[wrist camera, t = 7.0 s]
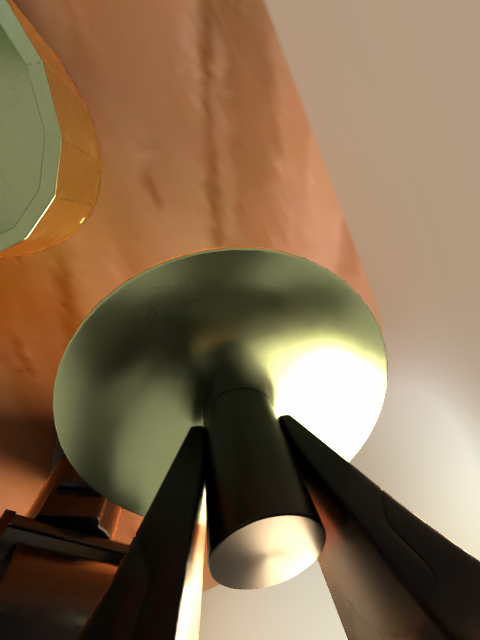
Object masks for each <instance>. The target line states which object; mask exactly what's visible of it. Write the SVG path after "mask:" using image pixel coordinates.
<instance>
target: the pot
mask: <svg viewBox="0 0 480 640" xmlns="http://www.w3.org/2000/svg"><path fill="white" fill-rule="evenodd" d="M100 179H101V156H100V149H99V143H98V138H97V135H96V131H95V127H94V124H93V121H92V119H91V116H90V113H89V111H88V108H87V106H86V104H85V102H84V100H83V98H82V96H81V94H80V92H79V90H78V89H77V87H76V85H75V84H74V82H73V81H72V79H71V77H70V76H69V74H68V73H67V71H66V70H65V68H64V66H63V65H62V63H61V61H60V59H59V58H58V56H57V55H56V54H55V53H54V51H53V50H52V49H51V48H50V46H49V45H48V44H47V43H46V42H45V40H44V39H43V38H42V37H41V35H40V34H39V33H38V32H37V30H36V29H35V28H34V27H33V26H32V24H31V23H30V22H29V21H28V19H27V18H26V17H25V16H24V14H23V13H22V12H21V11H20V10H19V8H18V7H17V6H16V5H15V3H14V2H13V1H12V0H0V259H3V258H10V257H16V256H22V255H29V254H35V253H39V252H41V251H43V250H45V249H48V248H51V247H53V246H56V245H58V244H60V243H61V242H63V241H65V240H66V239H68V238H69V237H71V236H72V235H73V234H74V233H75V232H77V231H78V230H79V228H80V227H81V226H82V225H83V224H84V223H85V221H86V220H87V218H88V216H89V215H90V213H91V211H92V209H93V207H94V204H95V202H96V199H97V196H98V191H99V187H100Z"/></svg>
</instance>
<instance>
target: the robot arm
mask: <svg viewBox="0 0 480 640" xmlns="http://www.w3.org/2000/svg"><path fill="white" fill-rule="evenodd" d="M278 421H279V423H280V425H281V428H282V430H283V432H284V435H285V437H286V439H287V442H288V444H289V446H290V449H291V451H292V453H293V456H294V458H295V460H296V463H297V465H298V467H299V470H300V472H301V474H302V477H303V479H304V481H305V484H306V486H307V488H308V491H309V493H310V495H311V498H312V500H313V502H314V505H315V507H316V509H317V512H318V514H319V516H320V519H321V521H322V524H323V526H324V528H325V532H326V541H325V545H324V548H323V550H322V551H321V553H320V555H319V556H318V557H317V559H318V561H319V564H320V567H321V570H322V572H323V575H324V577H325V580H326V583H327V585H328V588H329V591H330V593H331V596H332V599H333V601H334V604H335V606H336V609H337V612H338V614H339V617H340V619H341V622H342V625H343V627H344V630H345V633H346V635H347V638H348V640H480V561H479V560H477V559H476V558H474V557H473V556H471V555H470V554H469V553H467V552H466V551H464V550H463V549H462V548H460V547H459V546H457V545H456V544H454V543H453V542H451V541H450V540H449V539H447V538H446V537H444V536H443V535H441V534H440V533H439V532H438V531H436V530H435V529H433V528H432V527H431V526H429V525H428V524H427V523H425V522H424V521H422V520H421V519H420V518H418V517H417V516H416V515H414V514H413V513H412V512H411V511H409V510H408V509H407V508H405V507H404V506H403V505H402V504H400V503H399V502H398V501H396V500H395V499H394V498H393V497H391V496H390V495H389V494H388V493H387V492H385V491H384V490H381V488H380V487H379V486H378V485H376V484H375V483H374V482H373V481H372V480H370V479H369V478H368V477H367V476H365V475H364V474H363V473H362V472H360V471H359V470H358V469H357V468H355V467H354V466H353V465H352V464H351V463H349V462H348V461H347V460H346V459H344V458H343V457H342V456H341V455H339V454H338V453H337V452H336V451H334V450H333V449H332V448H331V447H330V446H328V445H327V444H326V443H325V442H323V441H322V440H321V439H320V438H318V437H317V436H316V435H315V434H313V433H312V432H311V431H310V430H309V429H307V428H306V427H305V426H304V425H302V424H301V423H300V422H299V421H297V420H296V419H295V418H294V417H292V416H291V415H289V414H287V415H280V416H278ZM121 511H122V507H120V506H118V505H116V504H114V503H113V502H111V501H109V500H107V499H106V498H105V497H103V496H102V495H101V494H99V493H98V492H96V491H95V490H94V489H93V488H92V487H91V486H90V485H89V484H88V483H86V482H85V481H84V480H83V479H82V478H81V477H80V475H79V474H78V473H77V471H76V470H75V469H74V467H73V466H72V465H71V463H70V462H69V460H68V458H67V456H66V454H65V452H64V450H63V449H62V447H61V444H60V441H59V438H58V435H57V439H56V445H55V451H54V457H53V463H52V469H51V474H50V476H49V477H48V479H47V481H46V482H45V484H44V486H43V487H42V489H41V491H40V492H39V494H38V496H37V497H36V499H35V501H34V502H33V504H32V506H31V507H30V509H29V511H28V512H27V514H26V516H21V515H17V514H15V513H16V512H14V511H11V510H7V509H6V510H5V511H4V513H3V514H2V515H1V516H0V640H199V627H200V626H199V625H200V610H201V594H202V578H203V561H204V545H205V528H206V496H205V452H204V428H203V426H202V425H199V426H192V427H191V428H190V429H189V431H188V433H187V435H186V437H185V439H184V441H183V443H182V445H181V447H180V449H179V451H178V453H177V455H176V457H175V459H174V461H173V462H172V464H171V466H170V468H169V470H168V472H167V474H166V476H165V478H164V480H163V482H162V484H161V486H160V488H159V490H158V492H157V494H156V496H155V498H154V499H153V501H152V503H151V505H150V507H149V509H148V511H147V513H146V515H145V517H144V519H143V521H142V523H141V525H140V527H139V529H138V531H137V533H136V537H134V538H133V540H132V542H131V544H126V543H122V542H118V541H115V540H114V537H115V533H116V529H117V525H118V522H119V518H120V514H121Z"/></svg>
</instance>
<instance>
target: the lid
mask: <svg viewBox="0 0 480 640" xmlns="http://www.w3.org/2000/svg"><path fill="white" fill-rule="evenodd" d="M387 374H388V361H387V354H386V348H385V343H384V340H383V337H382V333H381V330H380V328H379V326H378V324H377V322H376V320H375V318H374V316H373V314H372V312H371V310H370V309H369V308H368V306H367V305H366V303H365V302H364V301H363V299H362V298H361V297H360V295H359V294H357V293H356V292H355V291H354V290H353V289H352V288H351V287H350V286H349V285H348V284H347V283H346V282H345V281H344V280H342V279H341V278H339V277H338V276H336V275H335V274H334V273H332V272H331V271H329V270H328V269H326V268H324V267H322V266H320V265H318V264H316V263H314V262H312V261H310V260H307V259H305V258H302V257H298V256H295V255H292V254H289V253H285V252H282V251H278V250H272V249H266V248H260V247H252V246H224V247H216V248H208V249H201V250H197V251H193V252H189V253H185V254H182V255H178V256H174V257H172V258H170V259H167V260H165V261H162V262H160V263H158V264H155V265H153V266H150V267H148V268H147V269H145V270H143V271H142V272H140V273H138V274H137V275H135V276H133V277H132V278H130V279H128V280H127V281H125V282H124V283H122V284H121V285H120V286H119V287H117V288H116V289H115V290H114V291H113V292H111V293H110V294H109V295H108V296H106V297H105V298H104V299H103V300H101V301H100V302H99V303H98V304H97V306H96V307H95V308H94V309H93V310H92V311H91V312H90V313H89V314H88V315H87V317H86V318H85V319H84V320H83V321H82V322H81V324H80V325H79V327H78V329H77V330H76V332H75V333H74V335H73V336H72V338H71V339H70V341H69V342H68V345H67V347H66V349H65V351H64V354H63V356H62V358H61V361H60V363H59V366H58V371H57V375H56V379H55V383H54V392H53V414H54V422H55V428H56V432H57V435H58V438H59V441H60V444H61V447H62V449H63V450H64V452H65V454H66V456H67V458H68V460H69V462H70V463H71V465H72V466H73V467H74V469H75V470H76V471H77V473H78V474H79V475H80V477H81V478H82V479H83V480H84V481H85V482H86V483H88V484H89V485H90V486H91V487H92V488H93V489H94V490H95V491H96V492H98V493H99V494H101V495H102V496H103V497H105V498H106V499H107V500H109V501H111V502H113V503H114V504H116V505H118V506H120V507H122V508H123V509H126V510H128V511H131V512H133V513H136V514H138V515H141V516H144V517H145V515H146V513H147V511H148V509H149V507H150V505H151V503H152V501H153V499H154V498H155V496H156V494H157V492H158V490H159V488H160V486H161V484H162V482H163V480H164V478H165V476H166V474H167V472H168V470H169V468H170V466H171V464H172V462H173V461H174V459H175V457H176V455H177V453H178V451H179V449H180V447H181V445H182V443H183V441H184V439H185V437H186V435H187V433H188V431H189V429H190V428H191V427H192V426H199V425H202V426H203V428H204V452H205V496H206V526H207V555H208V569H209V572H210V574H211V576H212V578H213V579H214V580H215V581H216V582H218V583H219V584H221V585H223V586H226V587H229V588H234V589H258V588H264V587H268V586H272V585H275V584H278V583H280V582H283V581H285V580H287V579H290V578H292V577H293V576H295V575H297V574H298V573H300V572H302V571H303V570H304V569H306V568H307V567H308V566H309V565H311V564H312V563H313V562H314V561H315V560H316V559H317V557H318V556H319V555H320V553H321V551H322V550H323V548H324V545H325V541H326V532H325V528H324V526H323V524H322V521H321V519H320V516H319V514H318V512H317V509H316V507H315V505H314V502H313V500H312V498H311V495H310V493H309V491H308V488H307V486H306V484H305V481H304V479H303V477H302V474H301V472H300V470H299V467H298V465H297V463H296V460H295V458H294V456H293V453H292V451H291V449H290V446H289V444H288V442H287V439H286V437H285V435H284V432H283V430H282V428H281V425H280V423H279V421H278V416H280V415H287V414H289V415H291V416H292V417H294V418H295V419H296V420H297V421H299V422H300V423H301V424H302V425H304V426H305V427H306V428H307V429H309V430H310V431H311V432H312V433H313V434H315V435H316V436H317V437H318V438H320V439H321V440H322V441H323V442H325V443H326V444H327V445H328V446H330V447H331V448H332V449H333V450H334V451H336V452H337V453H338V454H339V455H341V456H342V457H343V458H344V459H346V460H347V461H348V462H349V461H350V459H351V458H352V457H353V456H354V455H355V454H356V453H357V451H358V450H359V448H360V447H361V446H362V444H363V443H364V441H365V440H366V439H367V437H368V435H369V433H370V432H371V430H372V428H373V426H374V424H375V422H376V420H377V417H378V415H379V412H380V410H381V407H382V403H383V400H384V397H385V391H386V385H387V377H388V376H387Z"/></svg>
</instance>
